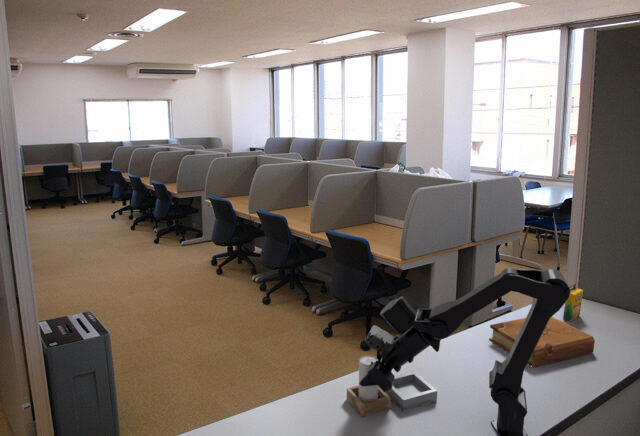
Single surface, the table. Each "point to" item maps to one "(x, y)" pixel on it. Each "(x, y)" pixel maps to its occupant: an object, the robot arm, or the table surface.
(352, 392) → the wooden frame
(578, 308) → the crayon box
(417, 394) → the tray
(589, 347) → the diary
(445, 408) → the table surface
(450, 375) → the table surface
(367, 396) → the beverage can
